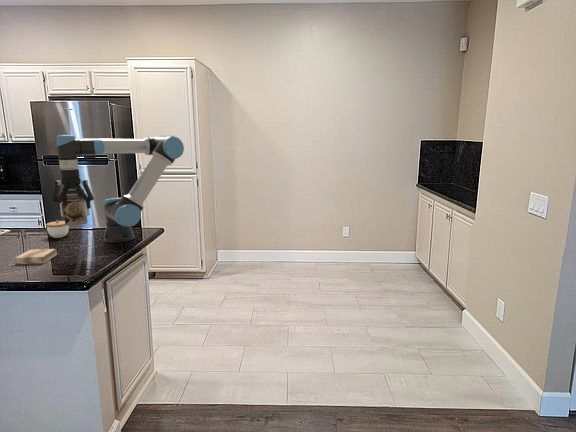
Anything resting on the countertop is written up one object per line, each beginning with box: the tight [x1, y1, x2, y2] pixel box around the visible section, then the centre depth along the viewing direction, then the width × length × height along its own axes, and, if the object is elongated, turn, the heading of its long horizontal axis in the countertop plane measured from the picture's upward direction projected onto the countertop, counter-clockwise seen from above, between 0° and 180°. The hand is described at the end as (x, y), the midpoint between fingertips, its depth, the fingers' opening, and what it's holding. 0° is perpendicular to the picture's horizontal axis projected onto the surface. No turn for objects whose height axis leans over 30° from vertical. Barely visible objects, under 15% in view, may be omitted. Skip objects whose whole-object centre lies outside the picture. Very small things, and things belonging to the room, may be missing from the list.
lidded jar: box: [45, 219, 70, 239], centre depth 216 cm, size 11×11×9 cm
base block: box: [14, 248, 58, 265], centre depth 177 cm, size 12×12×3 cm
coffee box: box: [60, 188, 88, 226], centre depth 181 cm, size 9×6×16 cm
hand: (75, 215), depth 182 cm, fingers closed on coffee box, 10 cm apart
